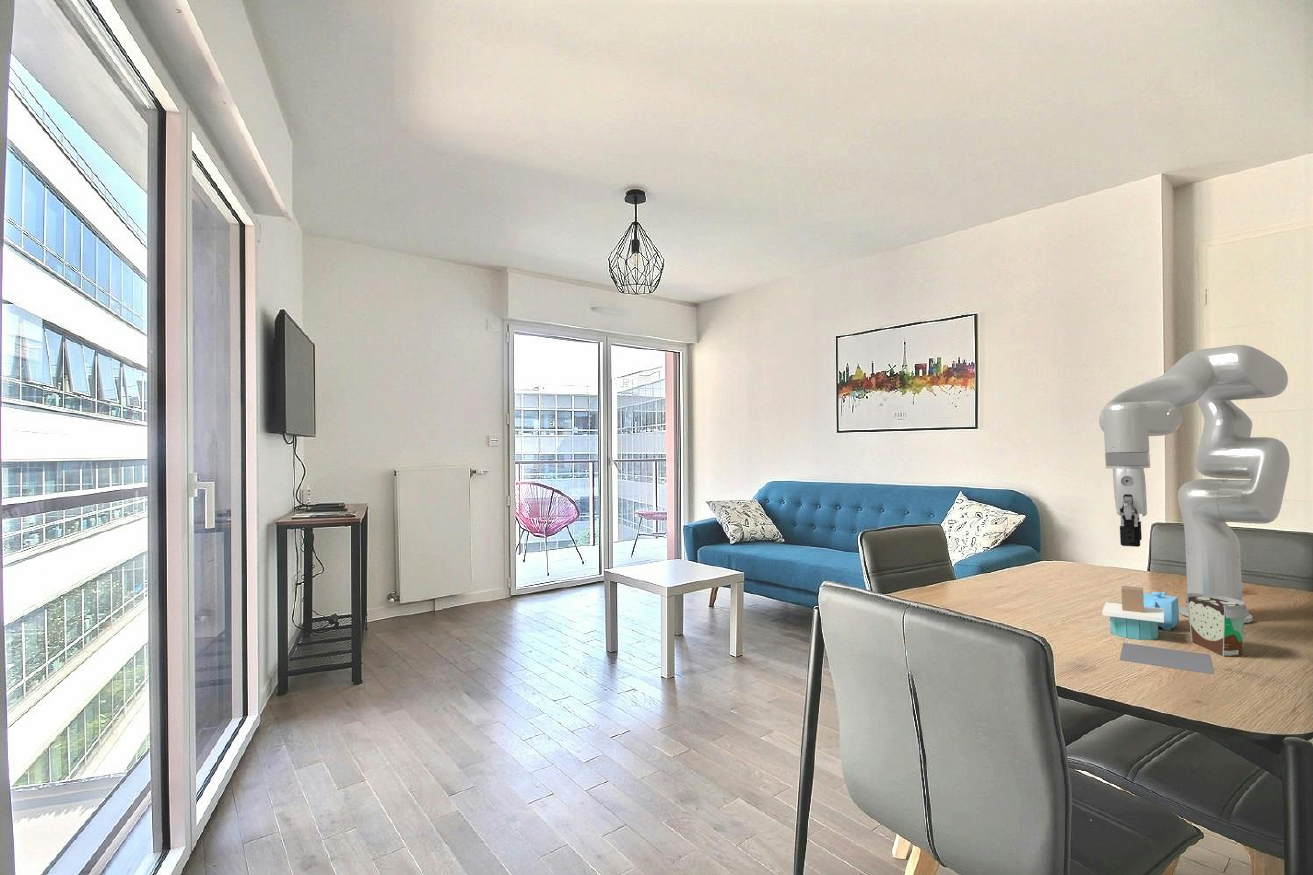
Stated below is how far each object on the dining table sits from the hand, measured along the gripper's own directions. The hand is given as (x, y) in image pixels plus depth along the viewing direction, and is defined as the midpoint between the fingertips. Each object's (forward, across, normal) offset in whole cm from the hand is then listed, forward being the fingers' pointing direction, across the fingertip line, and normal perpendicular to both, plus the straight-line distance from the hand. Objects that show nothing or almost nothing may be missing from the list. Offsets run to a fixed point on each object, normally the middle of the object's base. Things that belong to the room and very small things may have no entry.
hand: (1131, 542), depth 133 cm
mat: (+19, -16, -5) cm, 25 cm away
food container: (+20, -4, -14) cm, 24 cm away
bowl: (+19, -1, 0) cm, 19 cm away
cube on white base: (+15, 0, 0) cm, 15 cm away
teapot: (+20, +12, -4) cm, 24 cm away
